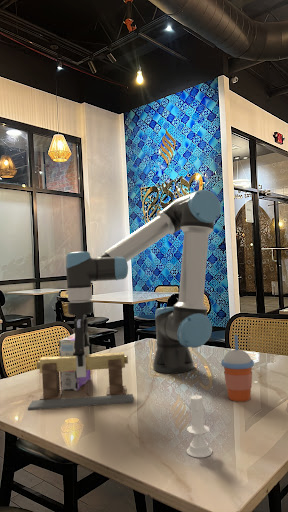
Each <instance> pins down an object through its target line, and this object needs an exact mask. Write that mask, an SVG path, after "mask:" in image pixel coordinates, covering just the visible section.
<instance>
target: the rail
mask: <svg viewBox="0 0 288 512" xmlns="http://www.w3.org/2000/svg"><path fill="white" fill-rule="evenodd" d="M128 359H129V357H128V355H125V352H123V351H122V352H107V353H92V354H87V355H85V362H86V370H90V371H93V370H107V369H108V361H114V360H121V365H122V369H123V368H124V369H125V368H126V364H129V361H128ZM50 364H56V372H59V373H60V372H63V371H76V356H73V355H71V356H60V355H59V356H58V355H57V356H42V357H40V358H39V360H38V361H37V362H36V369H37V370H39V373H40V374H42V365H50ZM108 370H109V369H108Z"/></svg>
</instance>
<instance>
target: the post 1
mask: <svg viewBox="0 0 288 512" xmlns="http://www.w3.org/2000/svg"><path fill="white" fill-rule="evenodd" d="M41 374H42V375H41V376H42V377H41V378H42V394H41V396H40V397H39V400H50V399H62V396H64V395H63V394H64V391H65V390H61V381H60V372H56V364H50V365H42V373H41Z"/></svg>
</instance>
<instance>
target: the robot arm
mask: <svg viewBox="0 0 288 512" xmlns="http://www.w3.org/2000/svg"><path fill="white" fill-rule="evenodd" d="M221 212H222V205H221V202H220V200H219V198H218V197H217V196H216V194H215V193H214V192H212V191H210V190H208V189H199V190H195V191H192V192H191V193H188V194H184V195H182V196H180V197H177V198H176V199H175V200H174V201H172V202H171V203H170V204H169V205H167V206H166V207H164V208H163V209H162V210H160V211H159V212H158V213H157V216H156V217H155V218H154V219H152V220H150V221H149V222H148V223H146V224H144V225H143V226H141V227H140V228H138V229H137V230H136V231H134V232H132V233H131V234H129V235H128V236H126V237H125V238H124V239H122V240H120V241H118V242H117V243H116V244H114V245H113V246H111V247H110V248H108V249H107V250H106V251H104V252H102V253H101V254H99V255H98V256H96V257H91V253H90V252H89V251H72V252H68V253H66V256H65V262H66V263H65V265H66V266H65V269H66V286H67V290H66V291H65V295H67V301H69V302H68V304H67V309H68V310H67V312H68V315H70V316H75V319H74V321H73V326H74V334H75V353H73V356H76V371H77V377H86V362H85V355H87V354H89V353H90V350H89V351H88V347H87V346H89V347H91V342H90V340H89V341H88V334H89V332H88V323H89V319H88V317H87V315H90V314H92V313H93V311H94V310H93V302H92V299H93V287H92V282H101V281H103V282H107V281H119V280H125V279H126V278H127V277H128V274H129V265H128V262H130V260H132V259H133V258H135V257H136V256H138V255H139V254H141V253H142V252H144V251H145V250H147V249H148V248H149V247H151V246H153V245H154V244H156V243H157V242H159V241H160V240H162V238H164V237H166V236H167V235H174V234H175V233H176V232H178V231H180V230H181V231H182V232H183V243H182V245H183V246H182V253H181V254H182V255H181V266H180V267H181V268H180V277H179V278H180V279H179V289H178V290H179V291H178V292H179V293H178V301H177V302H176V303H175V304H173V306H166V307H160V308H156V310H155V316H154V321H155V333H156V336H155V338H156V350H155V354H154V359H153V362H152V364H153V366H152V369H153V371H155V372H158V373H163V374H178V373H180V374H181V373H185V372H189V371H191V370H193V369H194V367H195V365H194V360H193V357H192V355H191V351H190V349H189V348H192V349H193V348H194V349H195V348H196V349H197V348H200V347H202V346H204V345H205V344H206V343H207V342H208V340H209V339H210V337H211V336H212V331H213V325H212V322H211V320H210V319H209V317H208V308H207V306H206V305H205V304H204V297H205V285H206V284H205V283H206V273H207V259H208V246H209V236H210V235H211V233H212V232H213V231H214V227H215V226H214V225H215V221H216V220H217V219H219V217H220V215H221Z"/></svg>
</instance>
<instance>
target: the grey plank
mask: <svg viewBox="0 0 288 512" xmlns="http://www.w3.org/2000/svg"><path fill="white" fill-rule="evenodd" d="M131 403H132V404H133V403H134V394H133V393H128V394H127V393H126V394H124V395H110V396H106V395H96V396H84V397H83V396H82V397H68V398H67V397H66V398H61V399H50V400H40V399H38V400H32V401H31V402H30V404H29V405H28V407H27V410H28V411H29V410H40V409H41V410H43V409H58V408H71V407H73V408H74V407H86V406H103V405H116V404H117V405H118V404H131Z"/></svg>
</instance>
